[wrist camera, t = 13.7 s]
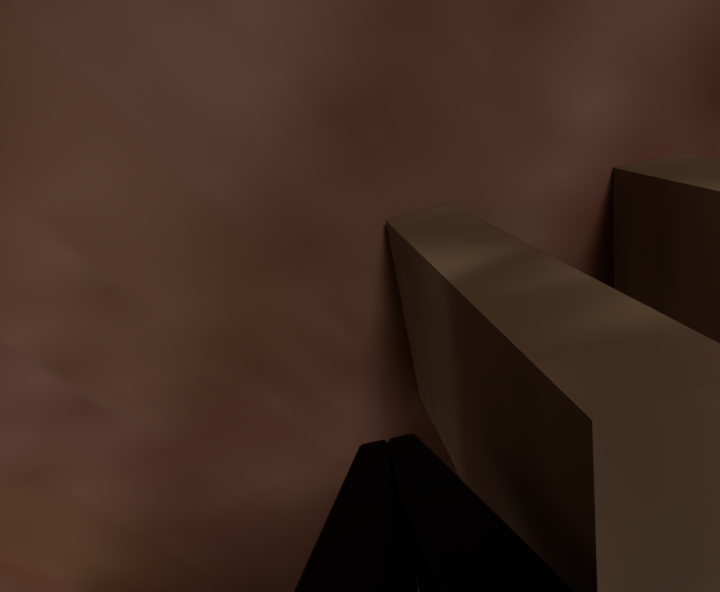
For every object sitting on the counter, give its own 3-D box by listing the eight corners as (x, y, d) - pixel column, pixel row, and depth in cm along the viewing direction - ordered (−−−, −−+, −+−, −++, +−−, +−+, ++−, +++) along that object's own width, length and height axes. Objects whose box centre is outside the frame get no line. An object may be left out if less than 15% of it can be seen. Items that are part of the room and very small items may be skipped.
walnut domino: (450, 203, 11) (768, 369, 4) (475, 381, 13) (724, 714, 6) (385, 220, 11) (592, 419, 4) (419, 397, 13) (603, 756, 6)
